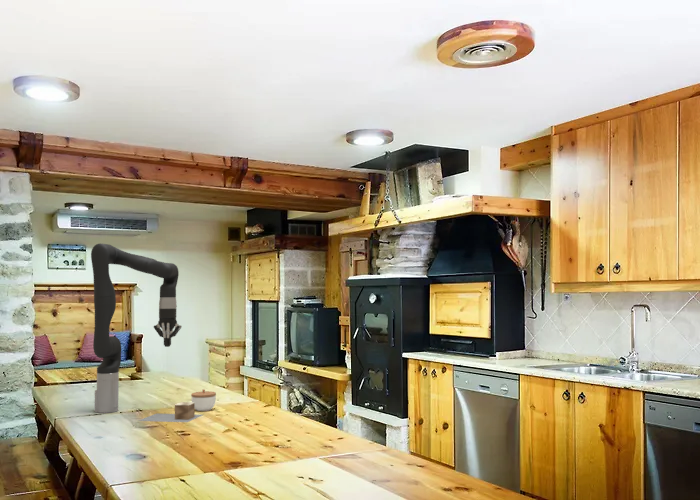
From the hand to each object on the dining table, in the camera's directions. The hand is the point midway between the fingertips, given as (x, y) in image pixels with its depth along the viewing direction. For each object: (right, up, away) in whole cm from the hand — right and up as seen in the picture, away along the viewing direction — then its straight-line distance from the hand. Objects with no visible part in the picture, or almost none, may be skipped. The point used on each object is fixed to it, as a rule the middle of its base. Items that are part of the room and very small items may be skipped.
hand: (167, 346), depth 292 cm
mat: (+6, -28, -17) cm, 33 cm away
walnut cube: (+12, -21, -18) cm, 30 cm away
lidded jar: (+16, -29, 0) cm, 33 cm away
